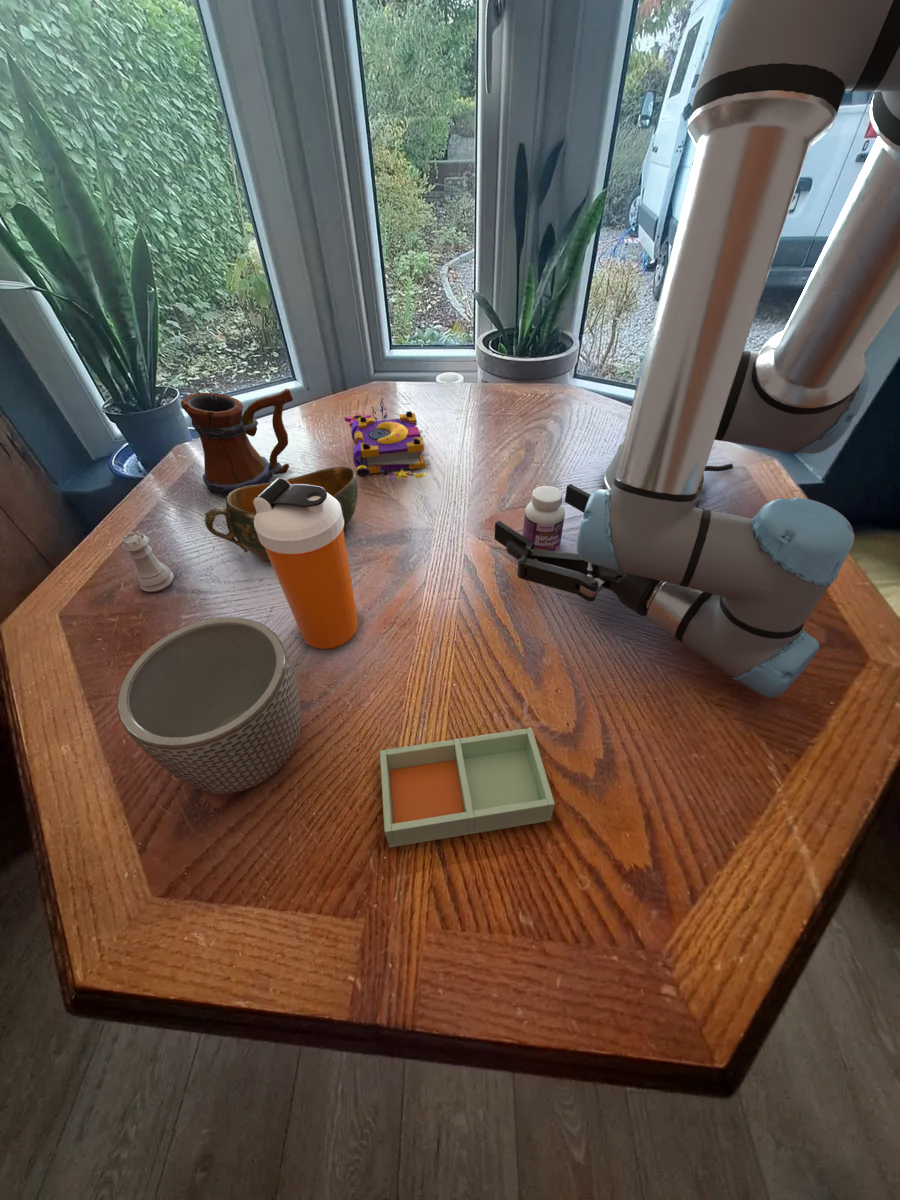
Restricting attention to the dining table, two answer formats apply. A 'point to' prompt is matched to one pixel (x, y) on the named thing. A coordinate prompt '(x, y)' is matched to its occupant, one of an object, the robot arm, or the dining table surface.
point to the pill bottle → (544, 518)
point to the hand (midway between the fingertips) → (533, 510)
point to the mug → (235, 439)
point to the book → (386, 444)
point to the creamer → (241, 499)
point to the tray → (463, 787)
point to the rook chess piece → (147, 563)
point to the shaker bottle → (309, 559)
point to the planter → (214, 704)
